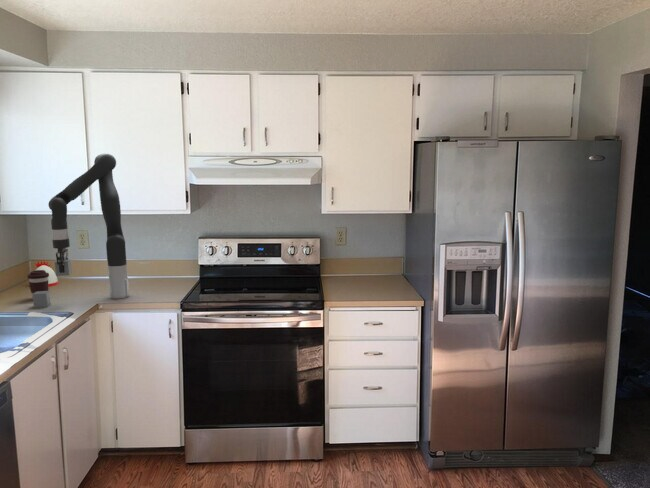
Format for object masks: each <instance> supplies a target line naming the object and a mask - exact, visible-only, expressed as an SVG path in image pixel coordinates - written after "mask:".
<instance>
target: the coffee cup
mask: <svg viewBox="0 0 650 488" xmlns="http://www.w3.org/2000/svg"><path fill="white" fill-rule="evenodd" d="M35 270H36V269H35ZM35 270H32V271H30V273H29V274H27V275H26V276H27V279H28V280H29V281H28V283H29V288H30V293H31V298H32V300H33V294H34V293H35V292H37V291H49V287H48V277H49V273H46V271H45V270H36V271H35Z"/></svg>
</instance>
